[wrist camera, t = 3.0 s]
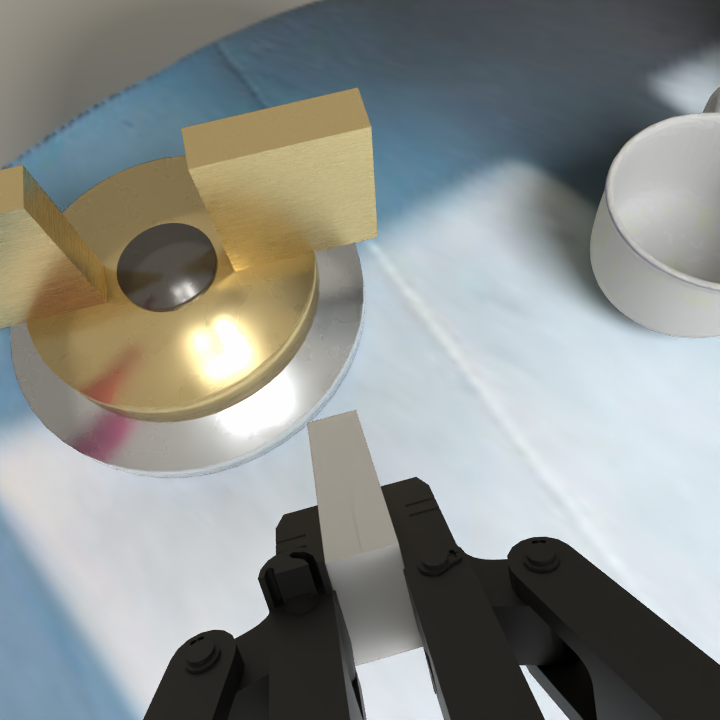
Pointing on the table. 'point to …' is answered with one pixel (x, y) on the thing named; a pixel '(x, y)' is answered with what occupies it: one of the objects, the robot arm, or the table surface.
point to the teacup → (664, 226)
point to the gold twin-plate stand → (190, 259)
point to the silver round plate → (221, 430)
